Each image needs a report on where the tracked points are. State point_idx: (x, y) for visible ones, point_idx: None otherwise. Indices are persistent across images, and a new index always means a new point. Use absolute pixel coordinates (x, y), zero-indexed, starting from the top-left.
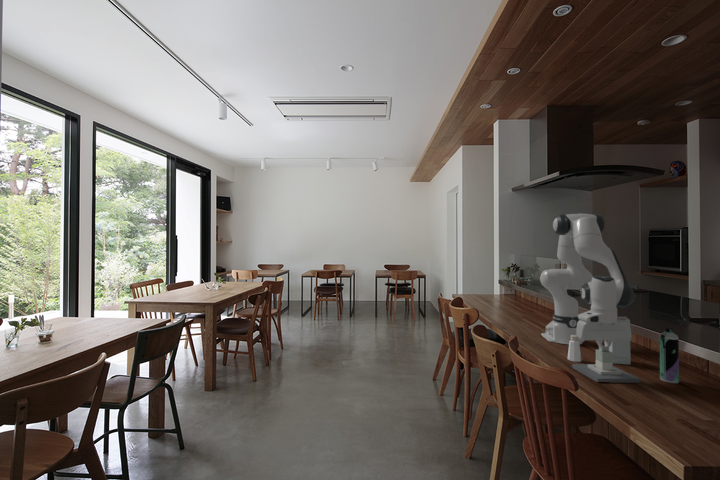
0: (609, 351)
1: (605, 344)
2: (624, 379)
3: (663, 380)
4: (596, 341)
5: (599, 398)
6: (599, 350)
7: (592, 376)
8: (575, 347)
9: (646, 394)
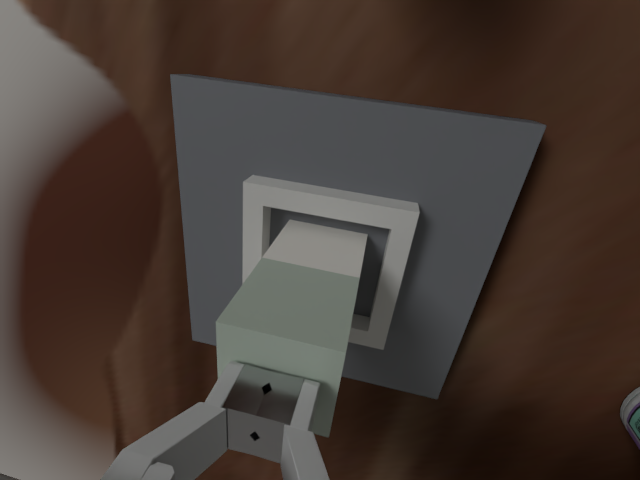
0: (328, 408)
1: (289, 453)
2: (343, 373)
3: (624, 406)
4: (121, 462)
5: (124, 418)
6: (234, 359)
7: (191, 303)
8: None
9: (326, 451)
